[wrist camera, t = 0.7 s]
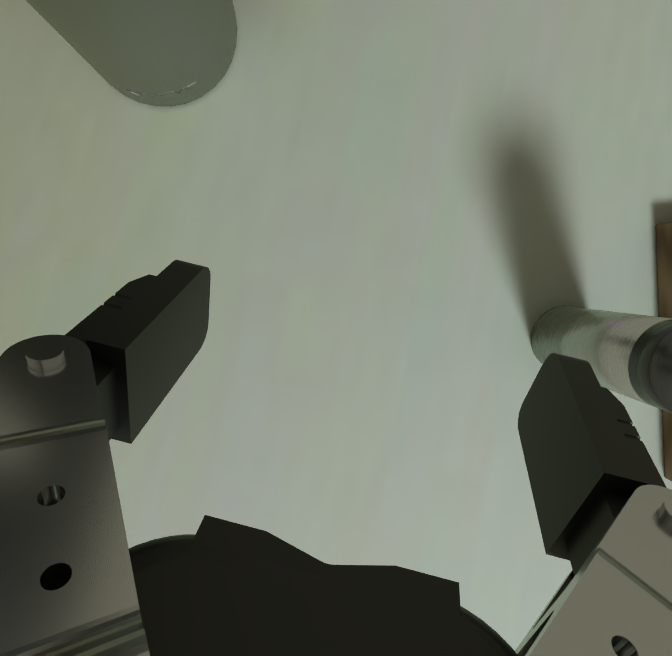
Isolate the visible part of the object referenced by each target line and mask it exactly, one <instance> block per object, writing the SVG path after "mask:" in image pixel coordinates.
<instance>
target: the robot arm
mask: <svg viewBox="0 0 672 656" xmlns="http://www.w3.org/2000/svg"><path fill="white" fill-rule="evenodd" d="M26 1H27V2H28V3H29V4H30V5H31V6H32V7H33V8H34V9H35V10H36V11H37V12H38V13H39V14H40V15H41V16H42V17H43V18H44V19H45V20H46V21H47V22H48V23H49V24H50V25H51V26H52V27H53V28H54V29H55V30H56V31H57V32H58V33H59V34H60V35H61V36H62V37H63V38H64V39H65V40H66V41H67V42H68V43H69V44H70V45H71V46H72V47H73V48H74V49H75V50H76V51H77V52H78V53H79V54H80V55H81V56H82V57H83V58H84V59H85V60H86V61H87V62H88V63H89V64H90V65H91V66H92V67H93V68H94V69H95V70H96V71H97V72H98V73H99V74H100V75H101V76H102V77H103V78H104V79H105V80H106V81H107V82H108V83H109V84H110V85H111V86H113V87H114V88H115V89H117V90H118V91H119V92H121V93H122V94H123V95H125V96H127V97H129V98H131V99H133V100H136V101H138V102H140V103H144V104H149V105H153V106H176V105H181V104H186V103H189V102H191V101H193V100H196V99H198V98H200V97H202V96H203V95H205V94H206V93H207V92H209V91H210V90H211V89H213V88H214V87H215V86H216V84H217V83H218V82H219V81H220V80H221V79H222V77H223V76H224V75H225V73H226V71H227V69H228V67H229V65H230V63H231V62H232V58H233V55H234V51H235V48H236V39H237V24H236V17H235V11H234V7H233V3H232V0H26ZM209 298H210V270H209V268H207V267H204V266H200V265H196V264H192V263H188V262H184V261H180V260H175V261H173V262H172V263H171V264H170V265H169V266H168V267H166V268H165V269H164V270H163V271H162V272H161V273H160V274H159V275H157V276H153V275H147V276H144V277H141V278H139V279H136V280H133V281H131V282H129V283H127V284H126V285H125V286H124V287H122V288H121V289H120V290H119V291H118V292H116V293H115V296H112V297H110V298H109V299H108V300H107V301H106V302H104V305H101V306H100V307H98V308H97V309H96V310H95V311H93V312H92V313H91V314H90V315H89V316H87V317H86V318H85V319H84V320H83V321H81V322H80V323H79V324H78V325H77V326H75V327H74V328H73V329H72V330H70V331H69V332H68V333H67V334H66V335H43V336H37V337H32V338H29V339H26V340H23V341H20V342H18V343H16V344H14V345H12V346H11V347H9V348H8V349H7V350H6V351H4V353H3V354H2V355H1V356H0V656H672V490H670V489H668V488H666V486H665V484H664V482H663V480H662V478H661V476H660V474H659V472H658V470H657V468H656V466H655V465H654V463H653V461H652V459H651V457H650V455H649V453H648V451H647V449H646V447H645V445H644V443H643V442H642V441H640V436H639V434H638V432H637V430H636V428H635V427H634V426H632V424H633V422H632V420H631V419H630V417H629V415H628V413H627V411H626V409H625V407H624V405H623V404H622V403H621V402H620V401H619V400H618V399H617V398H616V397H615V396H614V395H613V394H612V393H611V392H610V391H609V390H608V389H607V388H605V387H601V386H600V384H599V381H598V379H597V377H596V375H595V373H594V371H593V369H592V367H591V365H590V363H589V362H588V361H586V360H582V359H578V358H574V357H569V356H565V355H561V354H557V353H551V354H550V355H549V356H548V357H547V358H546V359H545V361H544V363H543V365H542V367H541V369H540V371H539V373H538V374H537V376H536V378H535V380H534V382H533V384H532V386H531V388H530V390H529V392H528V394H527V396H526V398H525V399H524V401H523V404H522V406H521V409H520V412H519V418H518V430H519V435H520V440H521V444H522V448H523V453H524V457H525V462H526V466H527V471H528V475H529V480H530V484H531V489H532V493H533V498H534V502H535V507H536V511H537V515H538V520H539V524H540V529H541V533H542V538H543V542H544V547H545V551H546V554H548V555H551V556H555V557H559V558H563V559H567V560H570V562H571V565H572V569H573V570H572V571H571V572H570V573H569V575H568V576H567V577H566V578H565V580H564V581H563V583H562V584H561V586H560V587H559V588H558V590H557V591H556V593H555V594H554V596H553V597H552V599H551V600H550V601H549V603H548V604H547V606H546V607H545V609H544V610H543V612H542V613H541V615H540V616H539V617H538V619H537V620H536V622H535V623H534V625H533V626H532V628H531V629H530V630H529V632H528V633H527V635H526V636H525V638H524V639H523V641H522V642H521V643H520V645H519V646H518V647H517V649H516V650H515V651H514V650H513V649H512V647H511V646H510V645H509V644H508V643H507V642H506V641H505V640H504V639H503V638H502V637H501V636H500V635H499V634H498V633H497V632H496V631H495V630H493V629H492V628H491V627H490V626H489V625H487V624H486V623H485V622H484V621H483V620H481V619H480V618H478V617H477V616H475V615H474V614H473V613H471V612H470V611H468V610H466V609H465V608H463V607H461V606H460V593H459V583H458V582H455V581H451V580H447V579H443V578H440V577H436V576H432V575H428V574H425V573H421V572H417V571H413V570H410V569H406V568H402V567H398V566H374V565H330V564H326V563H323V562H321V561H319V560H317V559H316V558H314V557H312V556H310V555H308V554H307V553H305V552H303V551H301V550H299V549H297V548H296V547H294V546H292V545H290V544H288V543H287V542H285V541H283V540H281V539H279V538H278V537H276V536H274V535H272V534H270V533H268V532H267V531H263V530H259V529H256V528H252V527H248V526H244V525H241V524H237V523H233V522H229V521H226V520H222V519H218V518H214V517H211V516H207V515H205V516H204V518H203V520H202V522H201V525H200V527H199V529H198V531H197V533H196V535H176V536H168V537H164V538H159V539H154V540H151V541H148V542H145V543H142V544H139V545H136V546H134V547H132V548H129V549H128V543H127V538H126V532H125V527H124V522H123V516H122V511H121V505H120V500H119V494H118V489H117V483H116V478H115V472H114V467H113V462H112V456H111V451H110V445H109V440H110V439H115V440H119V441H123V442H126V443H130V444H131V443H132V442H133V441H134V439H135V438H136V436H137V435H138V434H139V432H140V431H141V430H142V428H143V427H144V425H145V424H146V423H147V421H148V420H149V419H150V417H151V416H152V414H153V413H154V412H155V410H156V409H157V408H158V406H159V405H160V404H161V402H162V401H163V399H164V398H165V397H166V395H167V394H168V393H169V391H170V390H171V388H172V387H173V386H174V384H175V383H176V382H177V380H178V379H179V377H180V376H181V375H182V373H183V372H184V371H185V369H186V368H187V366H188V365H189V364H190V362H191V361H192V360H193V358H194V357H195V355H196V354H197V353H198V351H199V350H200V348H201V347H202V345H203V343H204V340H205V337H206V334H207V329H208V319H209Z"/></svg>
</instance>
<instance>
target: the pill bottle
mask: <svg viewBox="0 0 672 656" xmlns="http://www.w3.org/2000/svg"><path fill="white" fill-rule="evenodd" d="M531 345H532V349H533V352H534V354H535V356H536V358H537V359H538V360H539V361H540V362H541V363H542V364H543V363H544V361H545V359H546V358H547V357H548V356H549V355H550V354H551V353H557V354H561V355H565V356H569V357H574V358H578V359H582V360H586V361H588V362H589V363H590V365H591V367H592V369H593V371H594V373H595V375H596V377H597V379H598V381H599V384H600V386H601V387H605V388H607V389H608V390H611V391H614V392H616V393H619V394H622V395H624V396H627V397H630V398H633V399H635V400H638V401H641V402H643V403H646V404H649V405H652V406H654V407H657V408H660V409H662V410H665V411H668V412H670V413H672V318H663V317H654V316H646V315H637V314H628V313H619V312H610V311H601V310H592V309H584V308H575V307H565V306H563V307H556V308H553V309H551V310H549V311H547V312H545V313H544V314H543V315H542V316H541V317H540V318H539V319H538V320H537V322H536V324H535V325H534V328H533V331H532V335H531Z"/></svg>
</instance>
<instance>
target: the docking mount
mask: <svg viewBox="0 0 672 656" xmlns="http://www.w3.org/2000/svg"><path fill="white" fill-rule="evenodd" d="M656 240H657V268H658V296H659V317H663V318H672V223H665V224H658V225H656ZM663 437H664V465H665V478H667V479H669V480H671V481H672V413H670V412H668V411H665V410H663Z"/></svg>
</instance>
